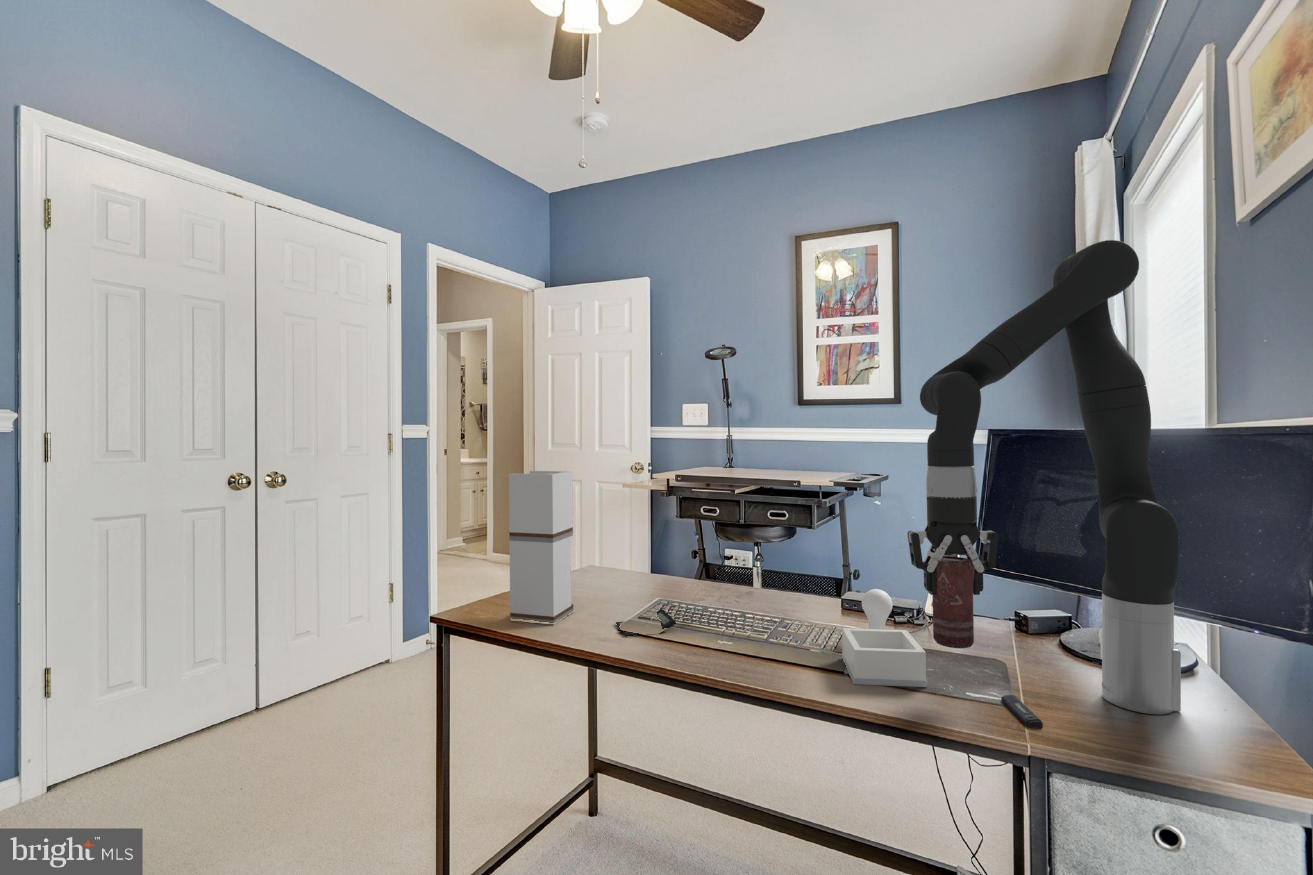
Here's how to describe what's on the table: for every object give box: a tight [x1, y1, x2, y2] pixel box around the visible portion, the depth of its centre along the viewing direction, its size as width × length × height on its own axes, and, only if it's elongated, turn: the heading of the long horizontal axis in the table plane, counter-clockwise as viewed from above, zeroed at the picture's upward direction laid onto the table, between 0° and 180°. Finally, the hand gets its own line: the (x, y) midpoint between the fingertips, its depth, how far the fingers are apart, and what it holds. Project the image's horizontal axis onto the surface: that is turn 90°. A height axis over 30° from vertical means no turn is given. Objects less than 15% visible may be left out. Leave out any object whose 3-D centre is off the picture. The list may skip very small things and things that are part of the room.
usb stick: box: [1000, 694, 1044, 729], centre depth 97 cm, size 10×3×2 cm, turn 173°
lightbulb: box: [861, 588, 893, 630], centre depth 131 cm, size 6×6×11 cm
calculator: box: [615, 608, 677, 637], centre depth 141 cm, size 9×12×3 cm
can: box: [931, 555, 975, 649], centre depth 103 cm, size 6×6×14 cm
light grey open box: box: [841, 627, 928, 688], centre depth 114 cm, size 12×12×6 cm
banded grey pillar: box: [508, 470, 574, 623], centre depth 150 cm, size 11×11×35 cm
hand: (953, 593), depth 103 cm, fingers closed on can, 6 cm apart
